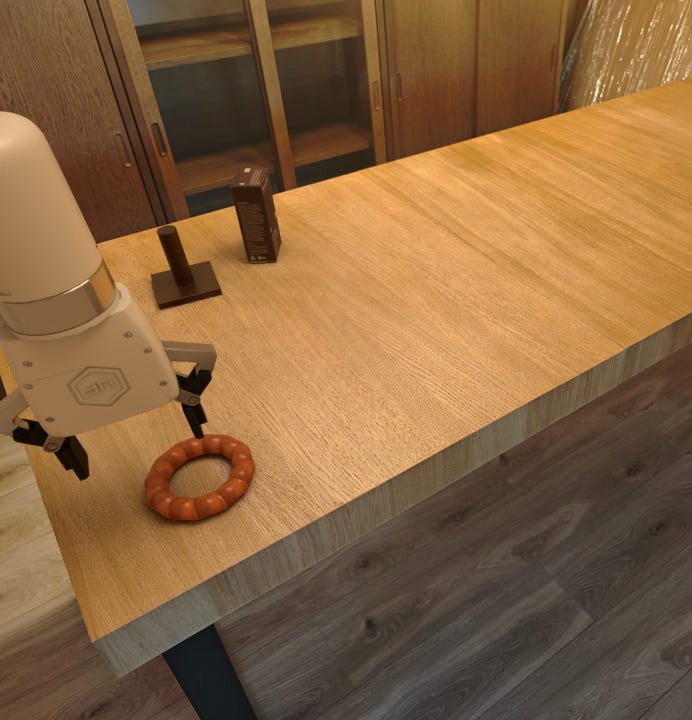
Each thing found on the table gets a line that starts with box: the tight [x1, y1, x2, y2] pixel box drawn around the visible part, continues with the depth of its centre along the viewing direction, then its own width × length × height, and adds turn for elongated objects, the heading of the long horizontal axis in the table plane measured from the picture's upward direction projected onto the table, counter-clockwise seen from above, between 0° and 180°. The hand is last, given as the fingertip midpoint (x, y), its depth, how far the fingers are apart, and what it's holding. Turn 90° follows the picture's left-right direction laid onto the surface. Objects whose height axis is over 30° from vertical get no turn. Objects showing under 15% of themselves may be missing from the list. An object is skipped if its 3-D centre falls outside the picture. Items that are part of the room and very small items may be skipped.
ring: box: [143, 433, 256, 521], centre depth 63 cm, size 10×10×2 cm
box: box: [230, 167, 283, 264], centre depth 92 cm, size 6×4×12 cm
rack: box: [150, 224, 223, 311], centre depth 86 cm, size 8×8×9 cm
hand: (143, 448), depth 58 cm, fingers open, 9 cm apart
